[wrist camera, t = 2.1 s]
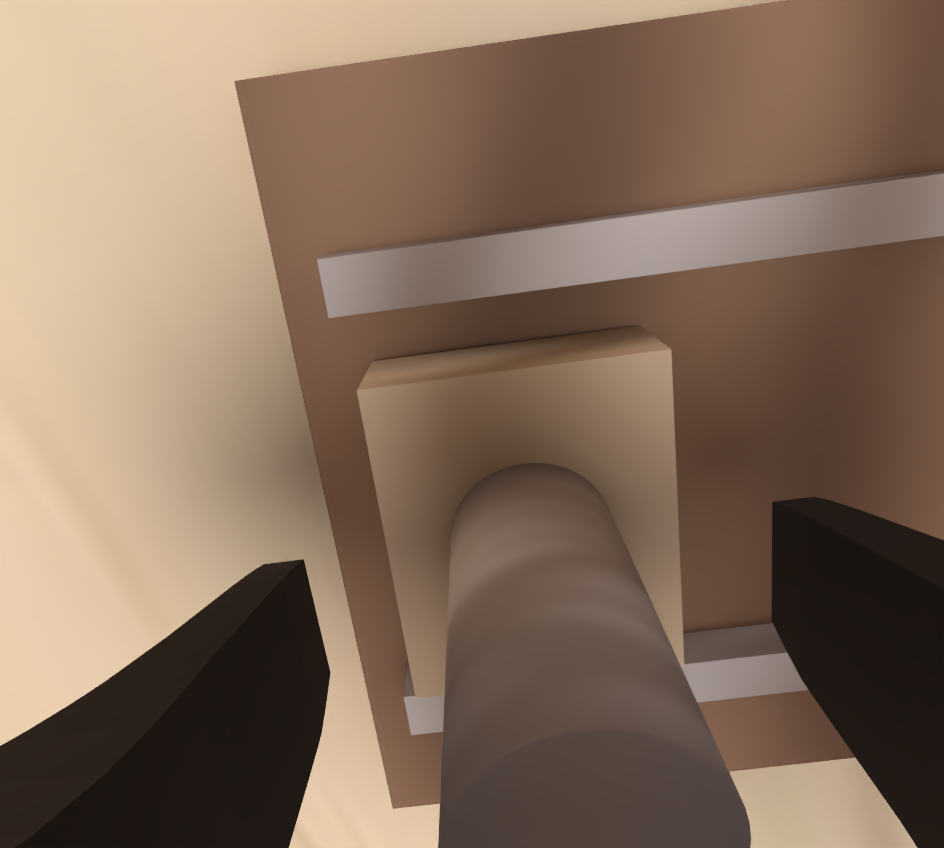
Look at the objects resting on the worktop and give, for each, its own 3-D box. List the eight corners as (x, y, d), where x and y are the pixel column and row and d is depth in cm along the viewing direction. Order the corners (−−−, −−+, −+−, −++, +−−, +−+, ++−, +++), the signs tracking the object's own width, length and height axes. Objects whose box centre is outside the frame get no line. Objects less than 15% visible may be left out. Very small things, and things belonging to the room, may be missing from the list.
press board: (1468, -83, 12) (2030, -237, 8) (1264, 662, 17) (1538, 823, 13) (259, 92, 13) (153, 42, 9) (398, 760, 18) (376, 944, 14)
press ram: (640, 326, 13) (896, 521, 5) (656, 605, 15) (860, 1047, 7) (372, 361, 13) (242, 601, 5) (421, 633, 15) (377, 1094, 7)
